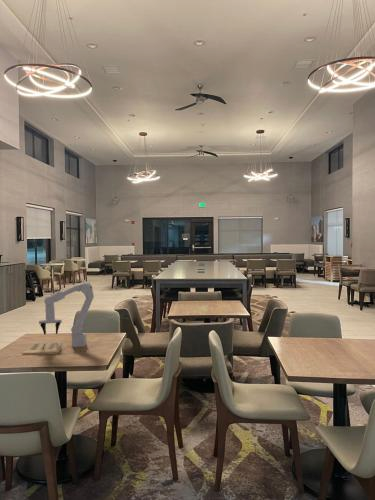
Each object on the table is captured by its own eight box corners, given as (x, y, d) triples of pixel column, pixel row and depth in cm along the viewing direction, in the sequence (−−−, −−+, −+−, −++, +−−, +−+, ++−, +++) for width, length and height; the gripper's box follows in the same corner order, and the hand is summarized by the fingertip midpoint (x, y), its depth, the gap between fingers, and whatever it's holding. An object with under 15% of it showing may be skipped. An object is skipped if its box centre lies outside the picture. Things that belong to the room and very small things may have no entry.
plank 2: (62, 344, 269) (61, 342, 269) (59, 350, 264) (59, 349, 263) (46, 344, 269) (46, 343, 268) (44, 351, 264) (44, 349, 263)
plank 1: (45, 344, 269) (45, 343, 268) (42, 351, 264) (42, 349, 263) (30, 345, 269) (29, 343, 268) (27, 351, 264) (27, 350, 263)
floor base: (63, 348, 271) (63, 346, 271) (57, 354, 257) (57, 352, 257) (30, 349, 271) (30, 346, 271) (22, 355, 256) (22, 353, 256)
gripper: (62, 312, 278) (63, 331, 278) (40, 313, 276) (41, 333, 276) (60, 314, 271) (61, 334, 271) (37, 315, 269) (38, 335, 269)
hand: (50, 333), depth 273 cm, fingers open, 7 cm apart
